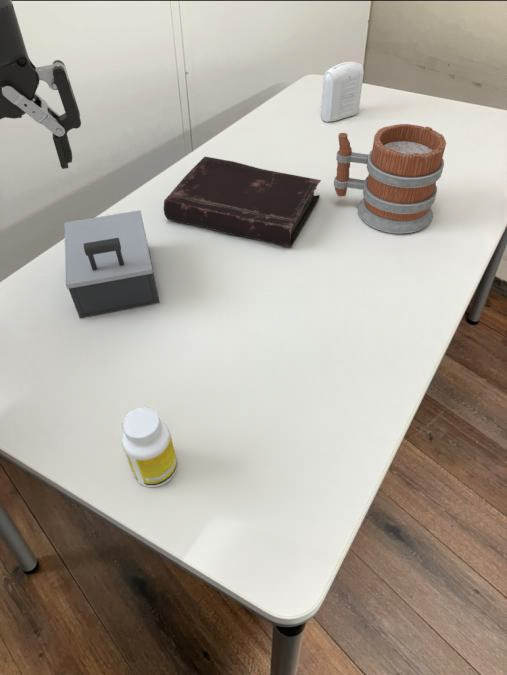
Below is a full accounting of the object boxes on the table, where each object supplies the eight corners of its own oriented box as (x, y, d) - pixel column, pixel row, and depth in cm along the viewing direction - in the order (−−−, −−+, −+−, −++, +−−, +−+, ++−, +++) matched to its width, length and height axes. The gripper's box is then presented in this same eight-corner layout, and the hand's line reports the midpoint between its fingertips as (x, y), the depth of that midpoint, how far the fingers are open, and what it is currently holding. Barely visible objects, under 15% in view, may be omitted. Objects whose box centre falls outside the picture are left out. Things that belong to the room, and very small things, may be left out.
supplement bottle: (186, 460, 63) (176, 414, 55) (159, 496, 59) (144, 452, 52) (152, 441, 64) (137, 394, 57) (123, 475, 61) (104, 430, 54)
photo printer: (350, 108, 131) (356, 56, 122) (361, 114, 128) (368, 61, 119) (317, 118, 127) (321, 65, 118) (328, 124, 125) (332, 70, 115)
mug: (428, 241, 92) (450, 163, 81) (323, 224, 96) (330, 148, 85) (435, 200, 101) (455, 125, 90) (338, 186, 105) (346, 113, 94)
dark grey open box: (159, 303, 82) (152, 270, 77) (79, 318, 80) (67, 285, 75) (148, 246, 92) (141, 214, 87) (77, 258, 90) (66, 226, 85)
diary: (289, 252, 90) (290, 228, 87) (165, 223, 97) (161, 200, 94) (320, 198, 102) (322, 175, 98) (208, 176, 109) (206, 154, 105)
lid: (153, 273, 77) (146, 244, 73) (67, 289, 75) (56, 259, 71) (141, 214, 87) (135, 185, 84) (65, 226, 85) (56, 197, 81)
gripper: (-134, 19, 41) (-47, 198, 53) (50, 5, 44) (93, 178, 55) (-116, -5, 46) (-40, 163, 58) (48, -17, 48) (89, 146, 60)
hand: (25, 170), depth 56 cm, fingers open, 8 cm apart
